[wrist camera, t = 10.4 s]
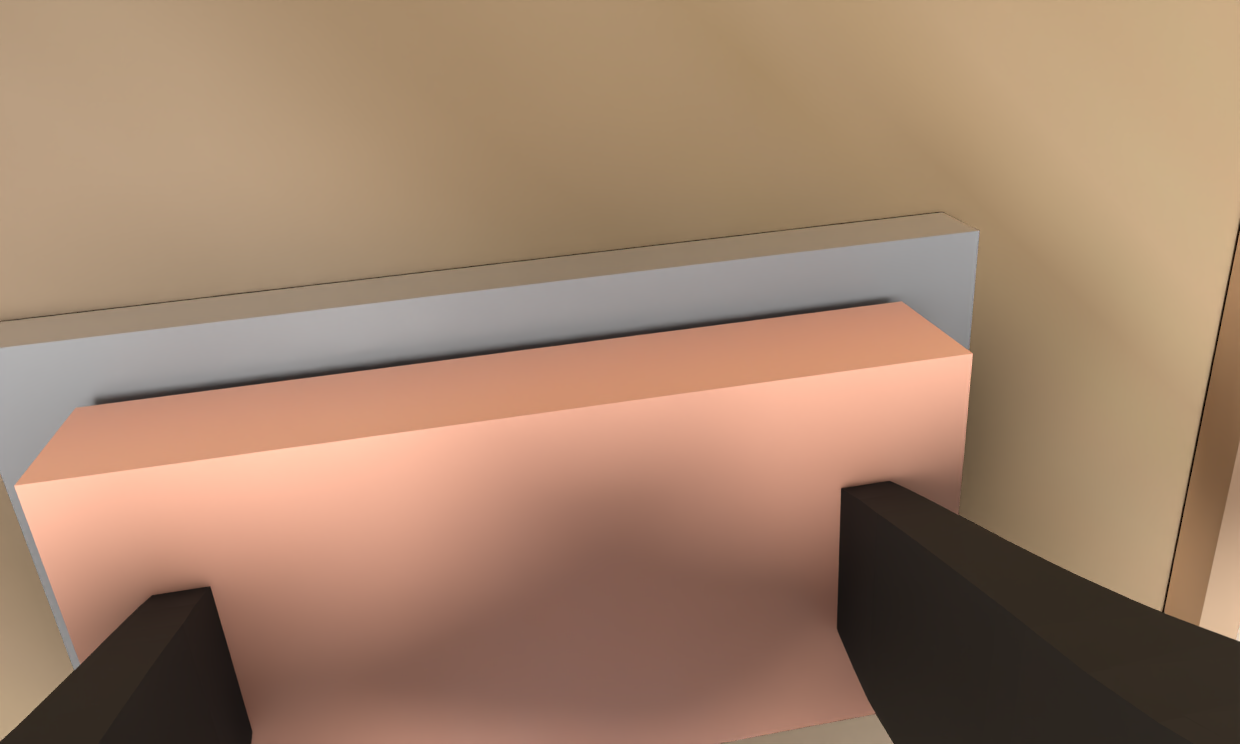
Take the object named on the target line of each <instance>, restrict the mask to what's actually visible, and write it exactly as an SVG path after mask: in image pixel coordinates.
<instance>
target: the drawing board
mask: <svg viewBox="0 0 1240 744" xmlns="http://www.w3.org/2000/svg"><path fill="white" fill-rule="evenodd" d="M1164 613H1165V614H1168V615H1170V616H1173V617H1176V618H1178V619H1181V620H1184V621H1186V622H1189V623H1192V624H1194V625H1197V626H1200V627H1202V628H1205V629H1208V630H1210V631H1213V632H1216V633H1218V634H1221V635H1224V636H1226V637H1229V638H1232V639H1235V640H1237V641H1240V233H1239V238H1238V243H1237V248H1236V253H1235V258H1234V263H1233V268H1232V273H1231V278H1230V283H1229V288H1228V293H1227V298H1226V303H1225V308H1224V313H1223V318H1222V323H1221V328H1220V333H1219V338H1218V343H1217V348H1216V353H1215V358H1214V363H1213V368H1212V373H1211V378H1210V383H1209V389H1208V394H1207V399H1206V404H1205V409H1204V414H1203V419H1202V424H1201V429H1200V434H1199V439H1198V444H1197V449H1196V454H1195V459H1194V464H1193V469H1192V474H1191V479H1190V484H1189V489H1188V494H1187V499H1186V504H1185V509H1184V514H1183V519H1182V524H1181V529H1180V534H1179V539H1178V544H1177V549H1176V554H1175V559H1174V564H1173V569H1172V574H1171V579H1170V585H1169V590H1168V595H1167V600H1166V605H1165V610H1164Z"/></svg>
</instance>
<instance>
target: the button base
mask: <svg viewBox="0 0 1240 744" xmlns="http://www.w3.org/2000/svg"><path fill="white" fill-rule="evenodd" d="M978 243H979V230H977V229H975V228H973V227H971V226H969V225H967V224H965V223H963V222H961V221H959V220H957V219H955V218H953V217H951V216H949V215H947V214H945V213H943V212H940V213H932V214H923V215H915V216H906V217H897V218H889V219H880V220H872V221H863V222H854V223H846V224H837V225H829V226H820V227H811V228H803V229H794V230H786V231H777V232H768V233H760V234H751V235H743V236H734V237H726V238H717V239H708V240H700V241H691V242H683V243H674V244H665V245H657V246H648V247H640V248H631V249H622V250H614V251H605V252H597V253H588V254H579V255H571V256H562V257H554V258H545V259H536V260H528V261H519V262H511V263H502V264H494V265H485V266H476V267H468V268H459V269H451V270H442V271H433V272H425V273H416V274H408V275H399V276H390V277H382V278H373V279H365V280H356V281H347V282H339V283H330V284H322V285H313V286H304V287H296V288H287V289H279V290H270V291H261V292H253V293H244V294H236V295H227V296H219V297H210V298H201V299H193V300H184V301H176V302H167V303H158V304H150V305H141V306H133V307H124V308H115V309H107V310H98V311H90V312H81V313H72V314H64V315H55V316H47V317H38V318H29V319H21V320H12V321H4V322H0V474H1V476H2V479H3V482H4V484H5V487H6V490H7V492H8V495H9V498H10V500H11V503H12V506H13V508H14V511H15V514H16V516H17V519H18V522H19V524H20V527H21V530H22V532H23V535H24V538H25V540H26V543H27V546H28V548H29V551H30V554H31V556H32V559H33V562H34V564H35V567H36V570H37V572H38V575H39V578H40V580H41V583H42V586H43V588H44V591H45V594H46V596H47V599H48V602H49V604H50V607H51V610H52V612H53V615H54V618H55V620H56V623H57V626H58V628H59V631H60V634H61V636H62V639H63V642H64V644H65V647H66V650H67V652H68V655H69V658H70V660H71V663H72V666H73V668H74V670H75V669H76V668H77V667H78V666H79V665H80V662H79V660H78V657H77V654H76V652H75V649H74V646H73V643H72V641H71V638H70V635H69V633H68V630H67V627H66V625H65V622H64V619H63V617H62V614H61V611H60V608H59V606H58V603H57V600H56V598H55V595H54V592H53V590H52V587H51V584H50V581H49V579H48V576H47V573H46V571H45V568H44V565H43V563H42V560H41V557H40V554H39V552H38V549H37V546H36V544H35V541H34V538H33V536H32V533H31V530H30V527H29V525H28V522H27V519H26V517H25V514H24V511H23V509H22V506H21V503H20V500H19V498H18V495H17V492H16V490H15V487H14V485H15V484H16V483H17V482H18V480H19V479H20V478H21V476H22V475H23V474H24V473H25V471H26V470H27V469H28V468H29V466H30V465H31V464H32V463H33V461H34V460H35V459H36V457H37V456H38V455H39V454H40V452H41V451H42V450H43V449H44V447H45V446H46V445H47V443H48V442H49V441H50V440H51V438H52V437H53V436H54V435H55V433H56V432H57V431H58V429H59V428H60V427H61V426H62V424H63V423H64V422H65V421H66V419H67V418H68V417H69V416H70V414H71V413H72V412H73V410H74V409H75V408H77V407H85V406H93V405H101V404H108V403H116V402H124V401H132V400H139V399H147V398H155V397H163V396H171V395H178V394H186V393H194V392H202V391H209V390H217V389H225V388H233V387H240V386H248V385H256V384H264V383H271V382H279V381H287V380H295V379H303V378H310V377H318V376H326V375H334V374H341V373H349V372H357V371H365V370H372V369H380V368H388V367H396V366H403V365H411V364H419V363H427V362H435V361H442V360H450V359H458V358H466V357H473V356H481V355H489V354H497V353H504V352H512V351H520V350H528V349H535V348H543V347H551V346H559V345H566V344H574V343H582V342H590V341H598V340H605V339H613V338H621V337H629V336H636V335H644V334H652V333H660V332H667V331H675V330H683V329H691V328H698V327H706V326H714V325H722V324H730V323H737V322H745V321H753V320H761V319H768V318H776V317H784V316H792V315H799V314H807V313H815V312H823V311H830V310H838V309H846V308H854V307H861V306H869V305H877V304H885V303H893V302H900V301H902V302H903V303H905V304H906V305H907V306H909V307H910V308H912V309H913V310H914V311H916V312H917V313H918V314H920V315H921V316H922V317H924V318H925V319H927V320H928V321H929V322H931V323H932V324H933V325H935V326H936V327H937V328H939V329H940V330H941V331H943V332H944V333H946V334H947V335H948V336H950V337H951V338H952V339H954V340H955V341H956V342H958V343H959V344H960V345H962V346H963V347H965V348H966V349H967V350H969V346H970V335H971V323H972V312H973V300H974V289H975V277H976V266H977V254H978Z"/></svg>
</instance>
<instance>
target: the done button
mask: <svg viewBox="0 0 1240 744" xmlns="http://www.w3.org/2000/svg"><path fill="white" fill-rule="evenodd" d="M972 358H973V353H971V352H970V351H969V350H967V349H966V348H965V347H963V346H962V345H960V344H959V343H958V342H956V341H955V340H954V339H952V338H951V337H950V336H948V335H947V334H946V333H944V332H943V331H941V330H940V329H939V328H937V327H936V326H935V325H933V324H932V323H931V322H929V321H928V320H927V319H925V318H924V317H922V316H921V315H920V314H918V313H917V312H916V311H914V310H913V309H912V308H910V307H909V306H907V305H906V304H905V303H903V302H902V301H900V302H893V303H885V304H877V305H869V306H861V307H854V308H846V309H838V310H830V311H823V312H815V313H807V314H799V315H792V316H784V317H776V318H768V319H761V320H753V321H745V322H737V323H730V324H722V325H714V326H706V327H698V328H691V329H683V330H675V331H667V332H660V333H652V334H644V335H636V336H629V337H621V338H613V339H605V340H598V341H590V342H582V343H574V344H566V345H559V346H551V347H543V348H535V349H528V350H520V351H512V352H504V353H497V354H489V355H481V356H473V357H466V358H458V359H450V360H442V361H435V362H427V363H419V364H411V365H403V366H396V367H388V368H380V369H372V370H365V371H357V372H349V373H341V374H334V375H326V376H318V377H310V378H303V379H295V380H287V381H279V382H271V383H264V384H256V385H248V386H240V387H233V388H225V389H217V390H209V391H202V392H194V393H186V394H178V395H171V396H163V397H155V398H147V399H139V400H132V401H124V402H116V403H108V404H101V405H93V406H85V407H77V408H75V409H74V410H73V412H72V413H71V414H70V416H69V417H68V418H67V419H66V421H65V422H64V423H63V424H62V426H61V427H60V428H59V429H58V431H57V432H56V433H55V435H54V436H53V437H52V438H51V440H50V441H49V442H48V443H47V445H46V446H45V447H44V449H43V450H42V451H41V452H40V454H39V455H38V456H37V457H36V459H35V460H34V461H33V463H32V464H31V465H30V466H29V468H28V469H27V470H26V471H25V473H24V474H23V475H22V476H21V478H20V479H19V480H18V482H17V483H16V484H15V485H14V487H15V490H16V492H17V495H18V498H19V500H20V503H21V506H22V509H23V511H24V514H25V517H26V519H27V522H28V525H29V527H30V530H31V533H32V536H33V538H34V541H35V544H36V546H37V549H38V552H39V554H40V557H41V560H42V563H43V565H44V568H45V571H46V573H47V576H48V579H49V581H50V584H51V587H52V590H53V592H54V595H55V598H56V600H57V603H58V606H59V608H60V611H61V614H62V617H63V619H64V622H65V625H66V627H67V630H68V633H69V635H70V638H71V641H72V643H73V646H74V649H75V652H76V654H77V657H78V660H79V662H80V664H81V663H82V662H83V661H84V660H85V659H86V658H87V657H88V656H89V655H90V654H91V653H92V652H93V651H94V650H95V649H96V648H97V647H98V646H99V645H100V644H101V643H102V642H103V641H104V640H105V639H106V638H107V637H108V636H109V635H110V634H111V633H112V632H114V631H115V630H116V629H117V628H118V627H119V626H120V625H121V624H122V623H123V622H124V621H125V620H126V619H127V618H128V617H129V616H130V615H131V614H132V613H133V612H134V611H135V610H136V609H137V608H138V607H139V606H140V605H142V604H143V603H144V602H145V601H146V600H147V599H148V598H149V597H151V596H152V595H157V594H164V593H170V592H177V591H183V590H189V589H196V588H202V587H209V586H210V587H211V590H212V593H213V597H214V600H215V604H216V607H217V611H218V614H219V618H220V621H221V625H222V628H223V631H224V635H225V638H226V642H227V645H228V649H229V652H230V656H231V659H232V663H233V666H234V669H235V673H236V676H237V680H238V683H239V687H240V690H241V694H242V697H243V701H244V704H245V707H246V711H247V714H248V718H249V721H250V725H251V728H252V741H251V744H719V743H725V742H730V741H735V740H741V739H746V738H751V737H757V736H762V735H767V734H772V733H778V732H783V731H788V730H794V729H799V728H804V727H809V726H815V725H820V724H825V723H831V722H836V721H841V720H846V719H852V718H857V717H862V716H868V715H873V714H876V713H875V711H874V710H873V708H872V706H871V705H870V703H869V701H868V699H867V697H866V695H865V693H864V690H863V688H862V686H861V684H860V682H859V680H858V677H857V675H856V673H855V671H854V669H853V666H852V664H851V662H850V659H849V657H848V655H847V652H846V650H845V647H844V645H843V643H842V640H841V638H840V636H839V633H838V631H837V604H838V571H839V538H840V505H841V488H847V487H854V486H860V485H866V484H872V483H879V482H885V481H891V482H894V483H896V484H898V485H901V486H903V487H905V488H907V489H909V490H911V491H913V492H915V493H917V494H919V495H921V496H923V497H925V498H927V499H929V500H931V501H933V502H935V503H937V504H939V505H941V506H942V507H944V508H946V509H948V510H950V511H952V512H954V513H956V514H958V515H959V504H960V493H961V482H962V471H963V459H964V448H965V437H966V425H967V414H968V403H969V391H970V380H971V369H972Z"/></svg>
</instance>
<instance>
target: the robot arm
mask: <svg viewBox="0 0 1240 744" xmlns="http://www.w3.org/2000/svg"><path fill="white" fill-rule="evenodd" d="M837 631H838V633H839V636H840V638H841V640H842V643H843V645H844V647H845V650H846V652H847V655H848V657H849V659H850V662H851V664H852V666H853V669H854V671H855V673H856V675H857V677H858V680H859V682H860V684H861V686H862V688H863V690H864V693H865V695H866V697H867V699H868V701H869V703H870V705H871V706H872V708H873V710H874V711H875V713H876V715H877V717H878V718H879V720H880V722H881V723H882V725H883V727H884V728H885V730H886V732H887V733H888V735H889V736H890V738H891V740H892V741H893V743H894V744H1240V641H1237V640H1235V639H1232V638H1229V637H1226V636H1224V635H1221V634H1218V633H1216V632H1213V631H1210V630H1208V629H1205V628H1202V627H1200V626H1197V625H1194V624H1192V623H1189V622H1186V621H1184V620H1181V619H1178V618H1176V617H1173V616H1170V615H1168V614H1165V613H1163V612H1160V611H1158V610H1155V609H1153V608H1150V607H1148V606H1146V605H1143V604H1141V603H1138V602H1136V601H1134V600H1131V599H1129V598H1127V597H1125V596H1122V595H1120V594H1118V593H1116V592H1113V591H1111V590H1109V589H1107V588H1105V587H1102V586H1100V585H1098V584H1096V583H1093V582H1091V581H1089V580H1087V579H1085V578H1082V577H1080V576H1078V575H1076V574H1074V573H1072V572H1070V571H1067V570H1065V569H1063V568H1061V567H1059V566H1057V565H1055V564H1053V563H1051V562H1049V561H1047V560H1045V559H1043V558H1041V557H1039V556H1037V555H1035V554H1033V553H1031V552H1029V551H1027V550H1025V549H1023V548H1021V547H1019V546H1017V545H1015V544H1013V543H1011V542H1009V541H1007V540H1005V539H1003V538H1001V537H999V536H998V535H996V534H994V533H992V532H990V531H988V530H986V529H984V528H982V527H980V526H978V525H977V524H975V523H973V522H971V521H969V520H967V519H965V518H963V517H961V516H960V515H958V514H956V513H954V512H952V511H950V510H948V509H946V508H944V507H942V506H941V505H939V504H937V503H935V502H933V501H931V500H929V499H927V498H925V497H923V496H921V495H919V494H917V493H915V492H913V491H911V490H909V489H907V488H905V487H903V486H901V485H898V484H896V483H894V482H891V481H885V482H879V483H872V484H866V485H860V486H854V487H847V488H841V505H840V538H839V571H838V604H837ZM251 741H252V728H251V725H250V721H249V718H248V714H247V711H246V707H245V704H244V701H243V697H242V694H241V690H240V687H239V683H238V680H237V676H236V673H235V669H234V666H233V663H232V659H231V656H230V652H229V649H228V645H227V642H226V638H225V635H224V631H223V628H222V625H221V621H220V618H219V614H218V611H217V607H216V604H215V600H214V597H213V593H212V590H211V587H210V586H209V587H202V588H196V589H189V590H183V591H177V592H170V593H164V594H157V595H152V596H151V597H149V598H148V599H147V600H146V601H145V602H144V603H143V604H142V605H140V606H139V607H138V608H137V609H136V610H135V611H134V612H133V613H132V614H131V615H130V616H129V617H128V618H127V619H126V620H125V621H124V622H123V623H122V624H121V625H120V626H119V627H118V628H117V629H116V630H115V631H114V632H112V633H111V634H110V635H109V636H108V637H107V638H106V639H105V640H104V641H103V642H102V643H101V644H100V645H99V646H98V647H97V648H96V649H95V650H94V651H93V652H92V653H91V654H90V655H89V656H88V657H87V658H86V659H85V660H84V661H83V662H82V663H81V664H80V665H79V666H78V667H77V668H76V669H75V670H74V671H73V672H72V673H71V674H70V675H69V676H68V677H67V678H66V679H65V680H64V681H63V682H62V683H61V684H60V685H59V686H58V687H57V688H56V689H55V690H54V691H53V692H52V693H51V694H50V695H49V696H48V697H47V698H46V699H45V700H44V701H43V702H42V703H41V704H39V705H38V706H37V707H36V708H35V709H34V710H33V711H32V712H31V713H30V714H29V715H28V716H27V717H26V718H25V719H24V720H23V721H22V722H21V723H20V724H19V725H18V726H17V727H16V728H15V729H14V730H12V731H11V732H10V733H9V734H8V735H7V736H6V737H5V738H4V739H2V740H1V741H0V744H251Z"/></svg>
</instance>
